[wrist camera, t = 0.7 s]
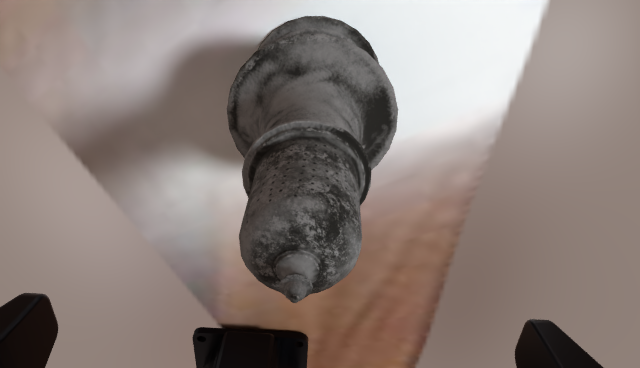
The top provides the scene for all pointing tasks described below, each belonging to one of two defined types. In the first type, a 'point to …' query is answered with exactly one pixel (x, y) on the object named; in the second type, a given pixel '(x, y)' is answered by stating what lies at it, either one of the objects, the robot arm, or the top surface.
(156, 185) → the top surface
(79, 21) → the top surface
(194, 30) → the top surface
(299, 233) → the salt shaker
